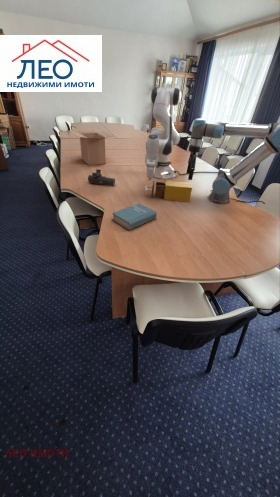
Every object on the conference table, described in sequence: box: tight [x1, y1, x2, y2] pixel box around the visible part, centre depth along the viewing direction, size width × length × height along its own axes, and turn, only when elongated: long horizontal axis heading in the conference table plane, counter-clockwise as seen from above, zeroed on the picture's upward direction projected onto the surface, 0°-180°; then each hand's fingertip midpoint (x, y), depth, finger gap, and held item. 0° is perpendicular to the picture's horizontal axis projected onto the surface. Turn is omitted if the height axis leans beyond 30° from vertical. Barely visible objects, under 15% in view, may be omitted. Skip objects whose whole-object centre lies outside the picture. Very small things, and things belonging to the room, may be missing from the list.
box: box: [70, 129, 114, 166], centre depth 229 cm, size 44×36×27 cm
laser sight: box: [87, 168, 116, 186], centre depth 182 cm, size 10×22×10 cm, turn 78°
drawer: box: [144, 180, 165, 198], centre depth 169 cm, size 24×10×9 cm, turn 86°
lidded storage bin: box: [163, 180, 193, 203], centre depth 168 cm, size 19×11×11 cm, turn 86°
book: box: [112, 202, 158, 231], centre depth 138 cm, size 23×16×5 cm
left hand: (149, 179), depth 165 cm, fingers closed
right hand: (189, 176), depth 161 cm, fingers open, 13 cm apart
